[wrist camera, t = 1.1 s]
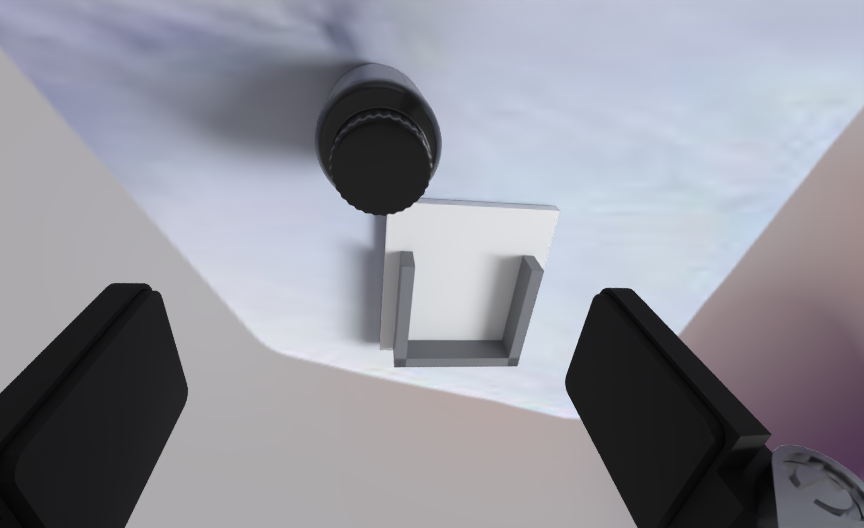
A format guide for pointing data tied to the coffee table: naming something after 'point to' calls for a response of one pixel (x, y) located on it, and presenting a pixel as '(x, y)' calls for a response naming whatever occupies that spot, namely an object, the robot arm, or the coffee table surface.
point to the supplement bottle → (378, 140)
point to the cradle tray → (462, 281)
